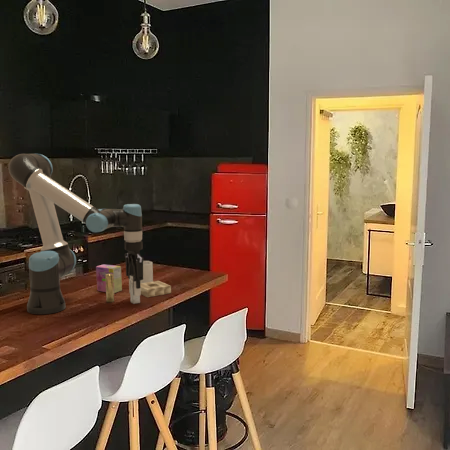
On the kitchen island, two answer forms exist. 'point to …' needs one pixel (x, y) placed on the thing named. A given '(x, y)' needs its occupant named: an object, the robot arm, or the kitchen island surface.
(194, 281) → the kitchen island surface
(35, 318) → the kitchen island surface
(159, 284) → the socket block
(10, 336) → the kitchen island surface
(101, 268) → the box
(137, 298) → the square bit
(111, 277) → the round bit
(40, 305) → the robot arm
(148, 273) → the mug
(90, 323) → the kitchen island surface
